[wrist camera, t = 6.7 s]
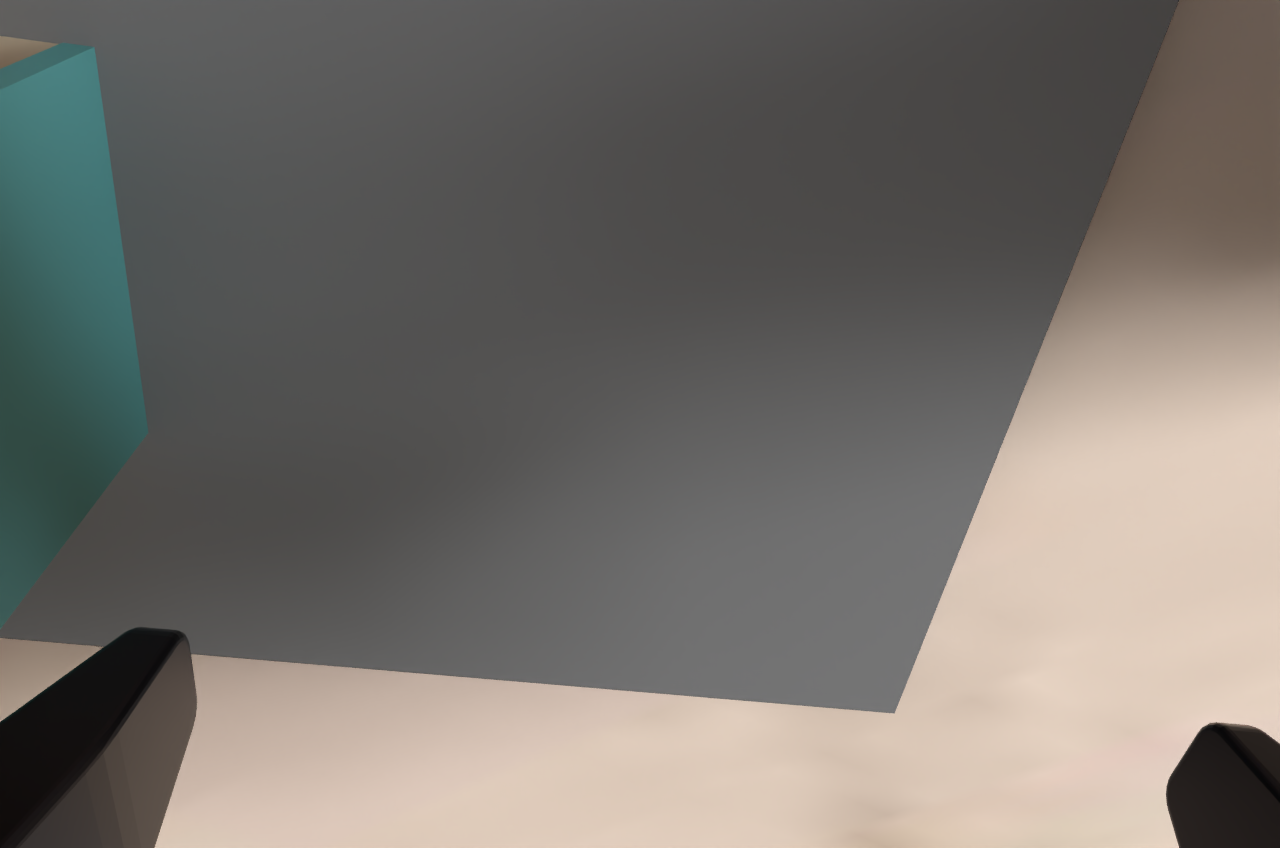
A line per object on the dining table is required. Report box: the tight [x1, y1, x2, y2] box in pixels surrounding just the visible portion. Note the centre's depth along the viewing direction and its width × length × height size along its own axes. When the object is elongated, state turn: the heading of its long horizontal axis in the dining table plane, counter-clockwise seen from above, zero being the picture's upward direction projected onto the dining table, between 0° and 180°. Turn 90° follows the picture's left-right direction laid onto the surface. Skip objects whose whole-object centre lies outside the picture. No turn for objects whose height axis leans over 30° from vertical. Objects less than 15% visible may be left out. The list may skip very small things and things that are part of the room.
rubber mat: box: [0, 0, 1179, 713], centre depth 15 cm, size 28×14×1 cm, turn 82°
